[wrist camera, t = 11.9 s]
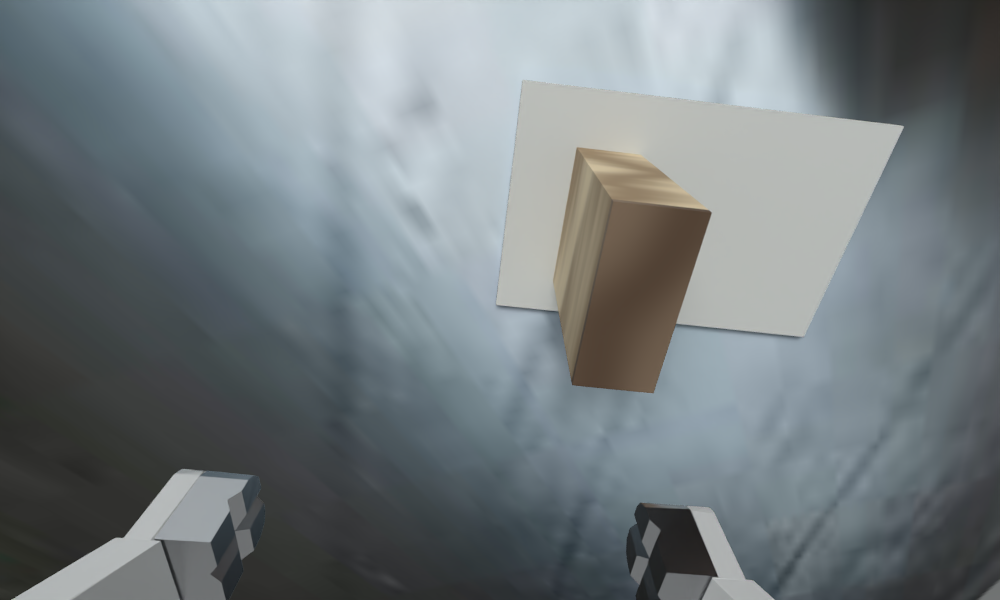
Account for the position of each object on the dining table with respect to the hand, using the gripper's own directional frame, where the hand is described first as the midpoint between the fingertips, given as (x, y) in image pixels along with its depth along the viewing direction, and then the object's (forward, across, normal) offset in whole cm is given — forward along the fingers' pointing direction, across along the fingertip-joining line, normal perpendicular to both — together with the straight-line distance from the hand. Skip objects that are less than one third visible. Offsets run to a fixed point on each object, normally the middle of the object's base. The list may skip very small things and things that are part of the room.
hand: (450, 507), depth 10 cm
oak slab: (+20, -6, -1) cm, 21 cm away
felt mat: (+20, -11, -1) cm, 23 cm away
